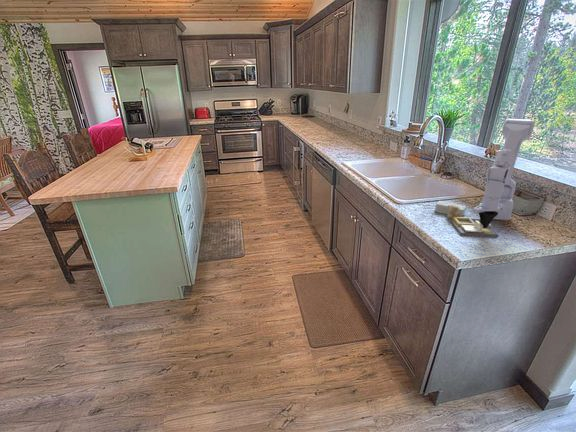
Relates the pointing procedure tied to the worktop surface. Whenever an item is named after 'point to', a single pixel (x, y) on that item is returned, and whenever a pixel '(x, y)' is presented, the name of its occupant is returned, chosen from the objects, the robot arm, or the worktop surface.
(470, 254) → the worktop surface
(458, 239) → the worktop surface
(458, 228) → the board
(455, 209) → the beige small block
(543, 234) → the worktop surface
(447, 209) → the skincare box
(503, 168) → the robot arm
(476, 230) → the cover
